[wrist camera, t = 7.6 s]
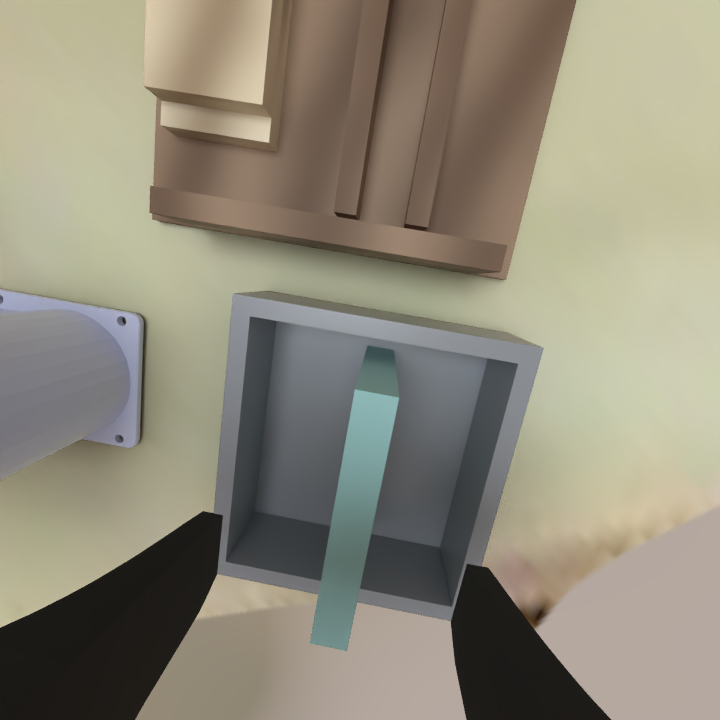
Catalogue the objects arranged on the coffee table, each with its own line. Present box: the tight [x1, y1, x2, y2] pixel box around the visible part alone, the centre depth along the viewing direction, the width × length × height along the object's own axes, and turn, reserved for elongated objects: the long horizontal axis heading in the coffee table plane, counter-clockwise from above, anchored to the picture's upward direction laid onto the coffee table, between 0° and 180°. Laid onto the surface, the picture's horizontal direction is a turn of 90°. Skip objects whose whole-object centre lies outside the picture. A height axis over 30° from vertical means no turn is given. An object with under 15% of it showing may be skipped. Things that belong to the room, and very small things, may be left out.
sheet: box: [310, 345, 399, 651], centre depth 16 cm, size 1×10×8 cm, turn 170°
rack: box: [150, 0, 576, 279], centre depth 14 cm, size 18×18×5 cm
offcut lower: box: [160, 0, 293, 152], centre depth 16 cm, size 5×9×1 cm, turn 171°
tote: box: [214, 291, 543, 621], centre depth 18 cm, size 13×14×4 cm
